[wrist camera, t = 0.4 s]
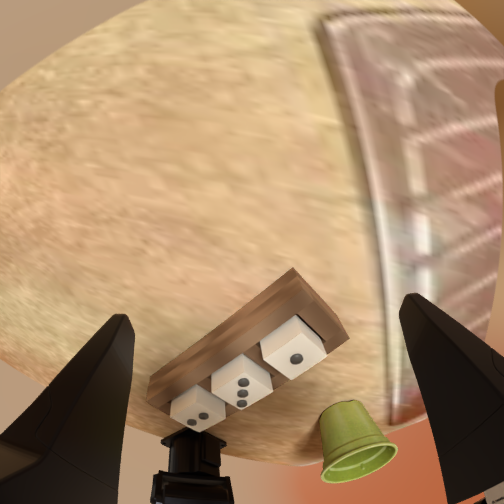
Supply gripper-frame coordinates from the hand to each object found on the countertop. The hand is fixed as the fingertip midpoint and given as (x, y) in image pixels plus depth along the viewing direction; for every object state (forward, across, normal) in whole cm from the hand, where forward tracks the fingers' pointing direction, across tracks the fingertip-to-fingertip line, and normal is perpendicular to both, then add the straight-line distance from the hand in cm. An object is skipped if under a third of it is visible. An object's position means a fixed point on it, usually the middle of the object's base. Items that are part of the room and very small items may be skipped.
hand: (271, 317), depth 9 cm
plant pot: (+10, -10, +31) cm, 34 cm away
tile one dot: (+9, -3, +13) cm, 16 cm away
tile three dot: (+9, +2, +16) cm, 19 cm away
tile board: (+12, +2, +17) cm, 21 cm away
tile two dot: (+8, +6, +20) cm, 22 cm away
